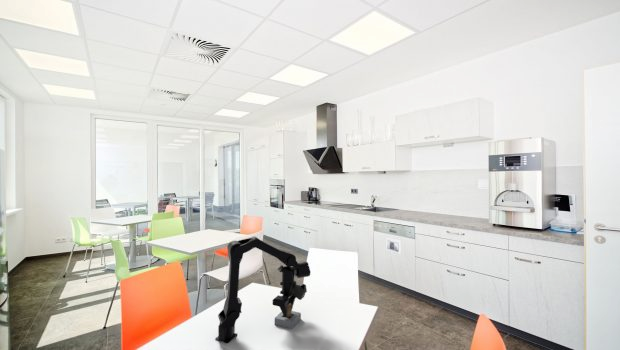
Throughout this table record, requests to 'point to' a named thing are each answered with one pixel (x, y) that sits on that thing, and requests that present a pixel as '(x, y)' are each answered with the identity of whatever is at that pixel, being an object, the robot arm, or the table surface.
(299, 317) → the socket
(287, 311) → the peg
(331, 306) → the table surface
